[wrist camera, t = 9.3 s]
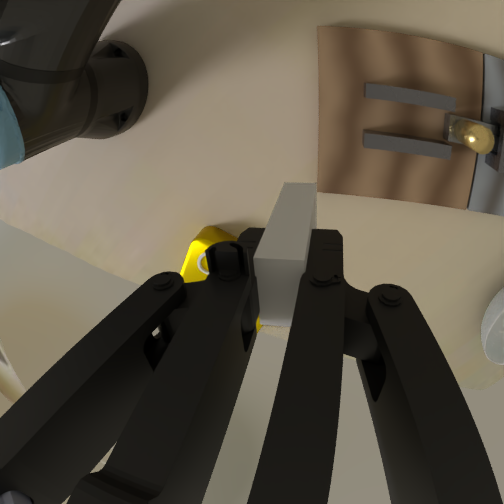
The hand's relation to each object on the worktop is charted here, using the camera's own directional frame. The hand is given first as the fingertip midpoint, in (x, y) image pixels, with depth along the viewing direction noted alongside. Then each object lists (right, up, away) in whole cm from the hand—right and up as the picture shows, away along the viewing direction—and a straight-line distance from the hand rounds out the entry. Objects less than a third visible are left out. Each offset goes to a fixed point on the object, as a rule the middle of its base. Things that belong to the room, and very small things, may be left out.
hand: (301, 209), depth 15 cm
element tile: (-5, -6, +36) cm, 37 cm away
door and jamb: (+20, +13, +15) cm, 28 cm away
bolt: (+24, +12, +12) cm, 29 cm away
